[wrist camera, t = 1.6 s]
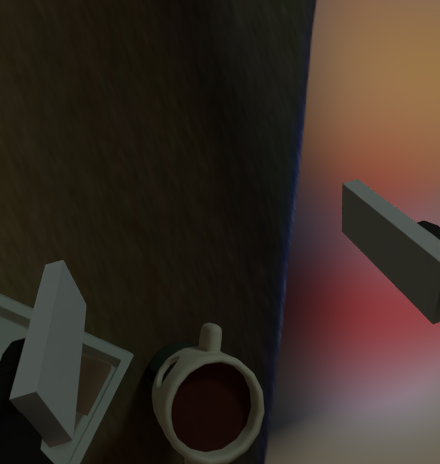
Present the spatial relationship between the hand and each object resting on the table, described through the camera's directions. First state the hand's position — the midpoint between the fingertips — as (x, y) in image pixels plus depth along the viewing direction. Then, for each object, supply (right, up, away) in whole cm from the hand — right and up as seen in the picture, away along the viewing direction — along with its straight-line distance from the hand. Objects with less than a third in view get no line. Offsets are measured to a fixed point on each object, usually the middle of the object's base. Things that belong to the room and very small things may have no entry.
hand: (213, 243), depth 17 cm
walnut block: (-12, -12, +16) cm, 24 cm away
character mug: (-4, -14, +20) cm, 24 cm away
